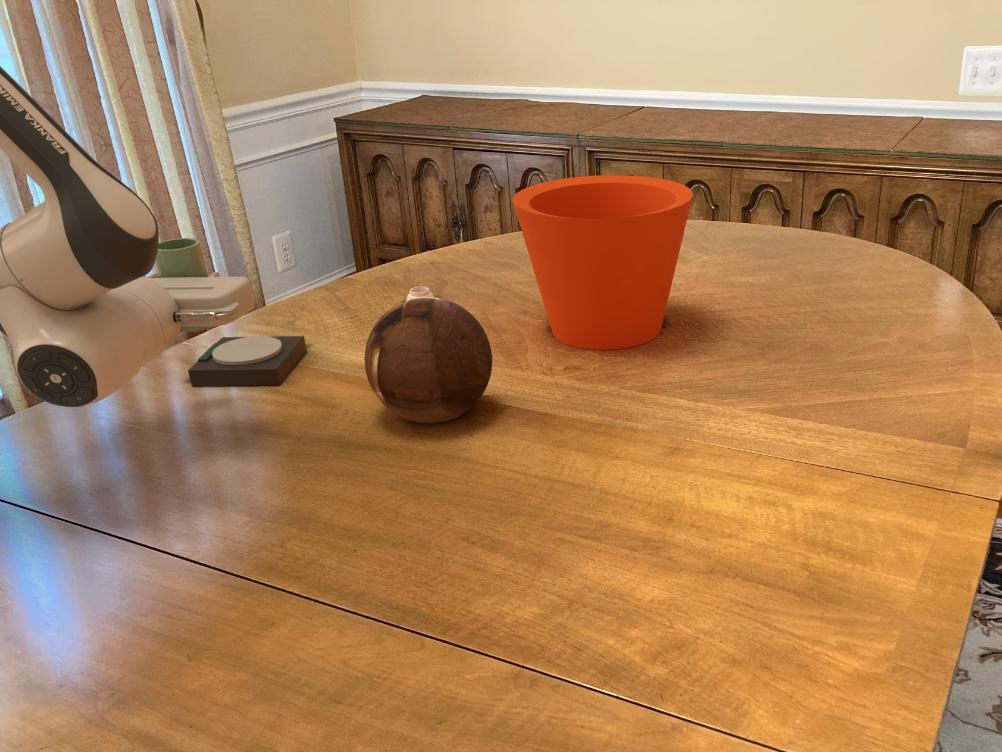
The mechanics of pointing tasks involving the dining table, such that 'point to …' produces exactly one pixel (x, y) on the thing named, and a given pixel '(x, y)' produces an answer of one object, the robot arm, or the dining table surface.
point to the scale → (248, 361)
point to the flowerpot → (604, 254)
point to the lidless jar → (419, 293)
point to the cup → (181, 263)
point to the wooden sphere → (428, 360)
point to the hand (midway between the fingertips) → (187, 278)
